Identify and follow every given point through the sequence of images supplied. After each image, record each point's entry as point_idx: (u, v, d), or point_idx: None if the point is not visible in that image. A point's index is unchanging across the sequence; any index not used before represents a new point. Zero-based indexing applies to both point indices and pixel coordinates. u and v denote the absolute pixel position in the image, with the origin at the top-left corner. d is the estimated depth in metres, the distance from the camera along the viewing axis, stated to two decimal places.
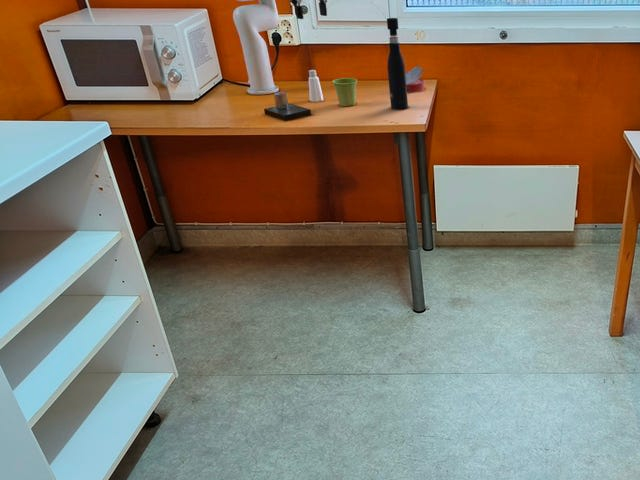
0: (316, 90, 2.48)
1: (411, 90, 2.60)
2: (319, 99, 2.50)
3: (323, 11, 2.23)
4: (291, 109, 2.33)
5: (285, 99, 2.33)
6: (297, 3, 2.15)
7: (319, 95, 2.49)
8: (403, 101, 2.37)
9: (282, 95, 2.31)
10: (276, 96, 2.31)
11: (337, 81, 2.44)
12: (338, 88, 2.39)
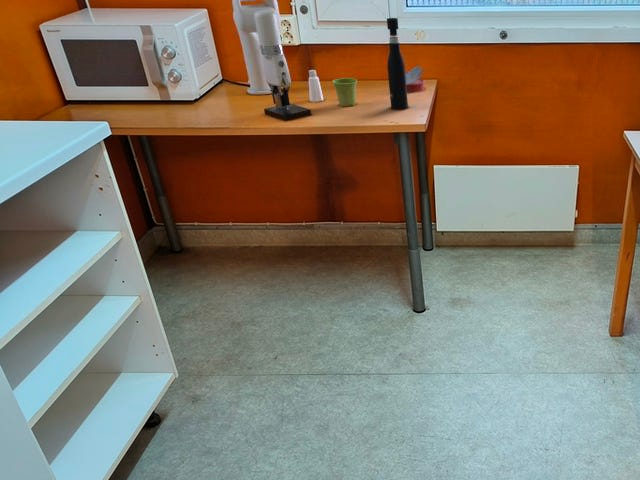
0: (316, 90, 2.48)
1: (411, 90, 2.60)
2: (319, 99, 2.50)
3: None
4: (291, 109, 2.33)
5: None
6: (271, 89, 2.33)
7: (319, 95, 2.49)
8: (403, 101, 2.37)
9: None
10: (276, 96, 2.31)
11: (337, 82, 2.44)
12: (338, 88, 2.39)
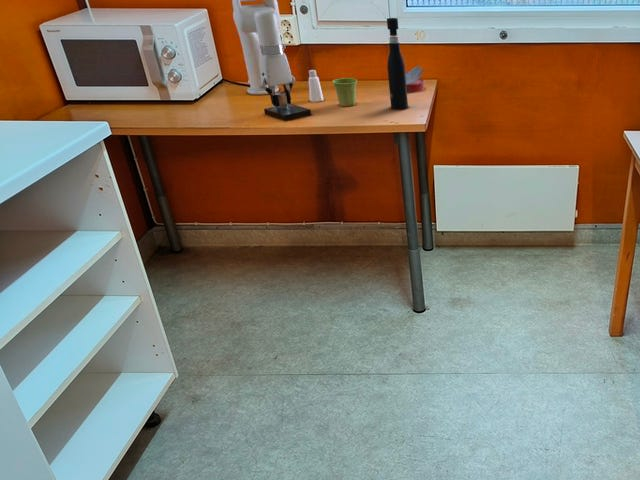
0: (316, 90, 2.48)
1: (411, 90, 2.60)
2: (319, 99, 2.50)
3: (287, 99, 2.35)
4: (291, 109, 2.33)
5: None
6: (272, 93, 2.29)
7: (319, 95, 2.49)
8: (403, 101, 2.37)
9: None
10: (285, 95, 2.32)
11: (337, 81, 2.44)
12: (338, 88, 2.39)
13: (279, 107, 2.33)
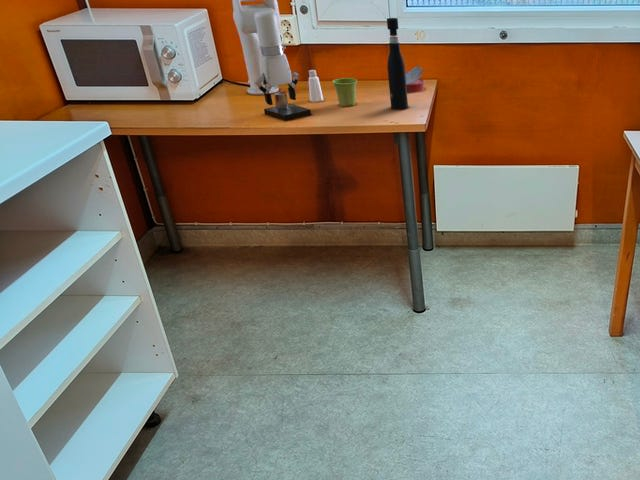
0: (316, 90, 2.48)
1: (411, 90, 2.60)
2: (319, 99, 2.50)
3: (292, 96, 2.36)
4: (291, 109, 2.33)
5: None
6: (266, 91, 2.28)
7: (319, 95, 2.49)
8: (403, 101, 2.37)
9: None
10: (284, 95, 2.32)
11: (337, 81, 2.44)
12: (338, 88, 2.39)
13: (279, 107, 2.33)
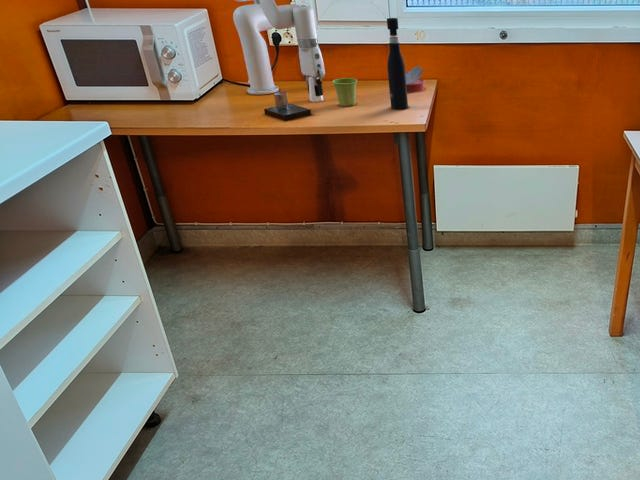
0: None
1: (411, 90, 2.60)
2: (319, 99, 2.50)
3: None
4: (291, 109, 2.33)
5: None
6: (306, 81, 2.49)
7: None
8: (403, 101, 2.37)
9: None
10: (284, 95, 2.32)
11: (337, 81, 2.44)
12: (338, 88, 2.39)
13: (279, 107, 2.33)
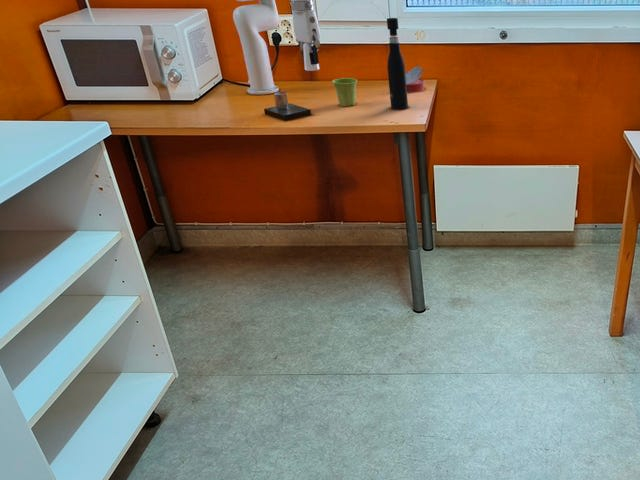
0: None
1: (411, 90, 2.60)
2: (315, 68, 2.31)
3: None
4: (291, 109, 2.33)
5: None
6: (301, 48, 2.31)
7: None
8: (403, 101, 2.37)
9: None
10: (284, 95, 2.32)
11: (337, 81, 2.44)
12: (338, 88, 2.39)
13: (279, 107, 2.33)
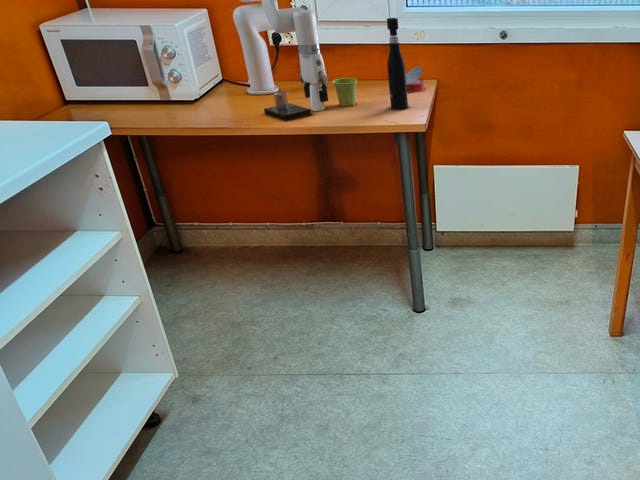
0: (317, 98, 2.37)
1: (411, 90, 2.60)
2: (321, 108, 2.39)
3: None
4: (291, 109, 2.33)
5: None
6: (303, 84, 2.39)
7: (321, 104, 2.38)
8: (403, 101, 2.37)
9: None
10: (284, 95, 2.32)
11: (337, 81, 2.44)
12: (338, 88, 2.39)
13: (279, 107, 2.33)
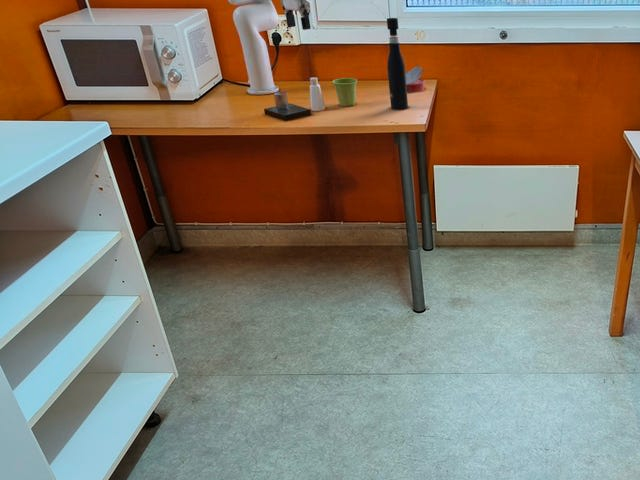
0: (317, 98, 2.37)
1: (411, 90, 2.60)
2: (321, 108, 2.39)
3: None
4: (291, 109, 2.33)
5: None
6: (285, 12, 2.33)
7: (321, 104, 2.38)
8: (403, 101, 2.37)
9: None
10: (284, 95, 2.32)
11: (337, 81, 2.44)
12: (338, 88, 2.39)
13: (279, 107, 2.33)
